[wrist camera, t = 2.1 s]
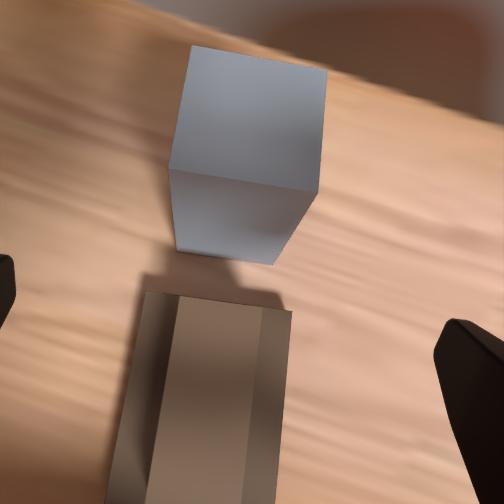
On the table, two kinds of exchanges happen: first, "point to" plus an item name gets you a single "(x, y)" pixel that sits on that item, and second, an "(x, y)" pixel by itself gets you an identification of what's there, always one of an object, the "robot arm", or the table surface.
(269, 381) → the walnut ridge
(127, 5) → the table surface
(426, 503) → the table surface
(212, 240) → the slate post
